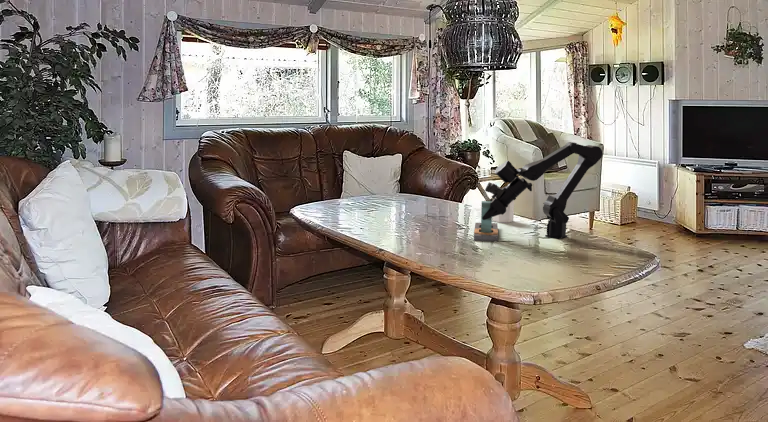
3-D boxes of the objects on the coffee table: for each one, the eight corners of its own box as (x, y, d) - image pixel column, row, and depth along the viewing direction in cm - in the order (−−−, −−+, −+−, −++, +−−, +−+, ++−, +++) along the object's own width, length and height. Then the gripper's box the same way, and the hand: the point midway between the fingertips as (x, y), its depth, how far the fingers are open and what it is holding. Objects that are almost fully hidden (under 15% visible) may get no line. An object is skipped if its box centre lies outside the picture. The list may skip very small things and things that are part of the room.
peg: (480, 233, 253) (481, 201, 251) (491, 234, 253) (492, 201, 250) (480, 235, 249) (481, 202, 247) (491, 236, 249) (492, 202, 246)
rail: (475, 227, 269) (475, 221, 269) (497, 228, 268) (497, 222, 267) (473, 240, 244) (473, 234, 244) (497, 241, 243) (497, 235, 242)
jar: (512, 219, 287) (513, 192, 285) (514, 222, 279) (515, 195, 277) (492, 219, 288) (492, 192, 286) (493, 222, 280) (494, 195, 278)
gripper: (498, 172, 255) (469, 199, 259) (497, 178, 237) (467, 207, 241) (517, 192, 255) (488, 219, 259) (519, 200, 237) (487, 228, 241)
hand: (482, 218), depth 250 cm, fingers closed on peg, 4 cm apart
